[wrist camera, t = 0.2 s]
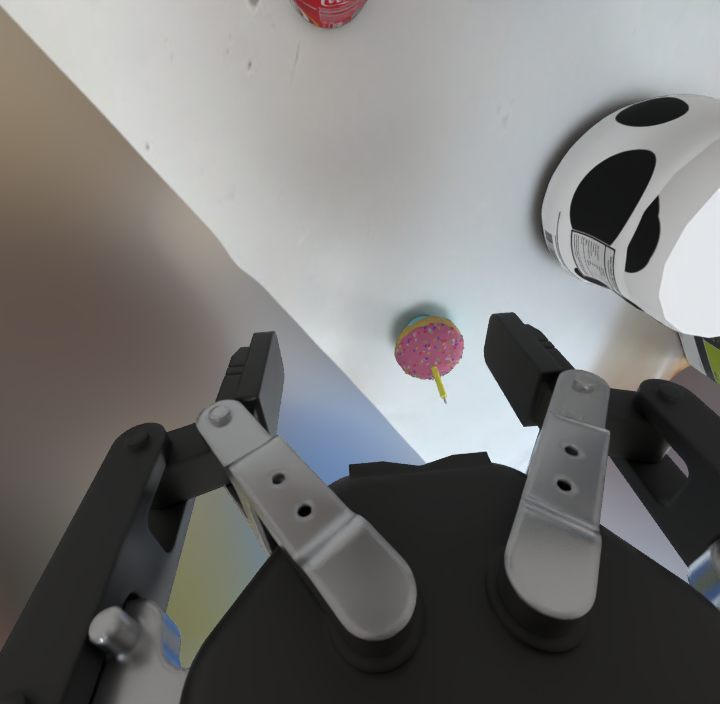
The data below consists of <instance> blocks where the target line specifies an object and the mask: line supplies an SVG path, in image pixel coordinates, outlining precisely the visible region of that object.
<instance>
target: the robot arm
mask: <svg viewBox="0 0 720 704" xmlns="http://www.w3.org/2000/svg"><path fill="white" fill-rule="evenodd" d="M554 347H555V346H554V345H553V344H552V343H551V342H550V341H548V339H547V338H546V337H545V335H544V334H543V333H542V332H541V331H539V330H538V329H536V328H534V327H532V326H531V325H529V324H524V323H523V322H522V321H521V320H520V319H519V317H518V316H517V315H516V314H515V313H513V312H510V313H498V314H492V315H491V317H490V319H489V324H488V330H487V335H486V340H485V346H484V358H485V362H486V364H487V366H488V368H489V369H490V371H491V373H492V375H493V376H494V378H495V380H496V381H497V383H498V385H499V386H500V388H501V390H502V391H503V393H504V395H505V396H506V398H507V400H508V401H509V403H510V405H511V407H512V408H513V410H514V412H515V413H516V415H517V417H518V418H519V420H520V422H521V423H522V425H523V427H527V426H538V427H539V429H540V430H539V433H538V436H537V439H536V442H535V445H534V448H533V451H532V454H531V458H530V461H529V464H528V467H527V470H526V473H525V474H524V473H522V472H520V471H518V470H516V469H514V468H511V467H508V466H505V465H501V464H497V463H491V461H490V459H489V457H488V454H487V452H478V453H467V454H456V455H451V456H448V457H445V458H442V459H439V460H436V461H433V462H430V463H427V464H425V465H420V466H416V465H408V464H399V463H391V462H384V461H382V462H372V463H361V464H351V465H349V473H350V475H349V476H346V477H343V478H341V479H339V480H337V481H335V482H333V483H332V484H331V485H329V486H327V485H326V484H325V483H324V482H323V481H322V480H321V479H320V477H319V476H317V474H316V473H315V472H314V471H313V470H312V469H311V468H310V467H309V466H308V465H307V464H306V463H305V461H304V460H303V459H302V458H301V457H300V456H299V455H298V454H297V453H296V452H295V451H294V450H293V449H292V448H291V447H290V446H289V444H288V443H287V442H285V440H284V439H283V438H282V437H281V436H279V435H276V430H277V424H278V418H279V411H280V404H281V398H282V391H283V384H284V368H283V362H282V357H281V353H280V348H279V344H278V339H277V335H276V333H275V332H274V331H271V332H259V333H254V334H253V337H252V340H251V343H250V347H241V348H240V349H239V350H238V351H237V352H236V353H235V354H234V355H233V356H232V357H231V360H230V363H229V368H227V371H226V376H225V377H224V379H223V382H222V385H221V387H220V390H219V393H218V396H217V398H216V401H215V403H212V404H210V405H209V406H207V407H206V408H204V409H203V410H202V411H201V412H200V413H199V415H198V417H197V419H196V422H195V423H193V424H191V425H188V426H185V427H182V428H179V429H175V430H172V431H169V432H166V430H165V429H164V427H163V426H162V425H160V424H157V423H145V424H141V425H137V426H135V427H133V428H131V429H129V430H127V431H126V432H124V433H123V434H121V435H120V436H119V437H118V438H117V439H116V440H115V442H114V443H113V445H112V446H111V449H110V450H109V452H108V454H107V456H106V458H105V459H104V461H103V463H102V465H101V467H100V469H99V471H98V472H97V475H96V476H95V478H94V480H93V482H92V483H91V486H90V487H89V489H88V491H87V493H86V495H85V496H84V498H83V500H82V502H81V504H80V506H79V508H78V509H77V511H76V513H75V515H74V517H73V519H72V521H71V522H70V524H69V526H68V528H67V530H66V532H65V534H64V536H63V537H62V539H61V541H60V543H59V545H58V546H57V548H56V550H55V552H54V554H53V556H52V558H51V559H50V561H49V563H48V565H47V567H46V569H45V571H44V572H43V574H42V576H41V578H40V580H39V582H38V584H37V585H36V587H35V589H34V591H33V593H32V595H31V597H30V598H29V600H28V602H27V604H26V606H25V608H24V609H23V611H22V613H21V615H20V617H19V619H18V621H17V622H16V624H15V626H14V628H13V630H12V632H11V634H10V635H9V637H8V639H7V641H6V643H5V645H4V647H3V649H2V650H1V652H0V704H720V417H719V416H718V415H717V414H716V413H715V412H714V411H712V410H711V409H710V408H709V407H708V406H707V405H705V404H704V403H703V402H702V401H701V400H700V399H699V398H697V396H695V395H694V394H693V393H692V392H691V391H689V390H688V389H686V388H684V387H683V386H681V385H678V384H676V383H673V382H670V381H666V380H661V379H648V380H645V381H643V382H642V383H641V384H640V386H639V388H638V390H637V392H636V391H628V390H620V389H612V388H609V385H608V384H607V383H606V382H605V381H604V380H603V379H602V378H600V377H599V376H597V375H595V374H593V373H590V372H587V371H583V370H575V369H574V367H573V366H572V365H571V364H570V363H569V362H568V361H567V360H566V359H565V358H564V356H563V355H562V354H561V353H560V352H559V351H558V350H557V349H556V348H554ZM670 447H672V448H673V449H674V450H675V451H676V452H677V453H678V455H679V456H680V457H681V458H682V459H683V460H684V461H685V463H686V465H687V467H688V471H689V477H688V478H687V477H686V476H685V474H684V473H683V472H682V471H681V470H680V469H679V468H678V466H677V465H676V464H675V463H674V462H673V461H672V459H671V458H670V457H669V456H668V455H667V454H666V453H667V452H668V450H669V449H670ZM608 456H610V458H611V459H612V461H613V462H614V463H615V465H616V466H617V468H618V469H619V470H620V472H621V473H622V475H623V476H624V478H625V479H626V480H627V482H628V483H629V484H630V486H631V487H632V489H633V490H634V492H635V493H636V495H637V496H638V497H639V499H640V500H641V502H642V503H643V505H644V506H645V507H646V509H647V510H648V511H649V513H650V514H651V516H652V517H653V519H654V520H655V522H656V523H657V524H658V526H659V527H660V529H661V530H662V531H663V533H664V534H665V536H666V537H667V538H668V540H669V541H670V543H671V544H672V546H673V547H674V548H675V550H676V551H677V553H678V554H679V556H680V557H681V558H682V560H683V561H684V563H685V564H686V565H687V567H688V571H687V577H688V581H689V584H690V585H689V584H688V583H686V582H685V581H684V580H682V579H680V578H679V577H678V576H676V575H675V574H673V573H672V572H670V571H669V570H667V569H666V568H664V567H663V566H661V565H660V564H658V563H657V562H655V561H654V560H652V559H651V558H649V557H648V556H647V555H645V554H644V553H642V552H641V551H639V550H638V549H636V548H635V547H633V546H632V545H630V544H629V543H627V542H626V541H624V540H623V539H621V538H620V537H618V536H617V535H615V534H614V533H613V532H611V531H610V530H608V529H607V528H605V527H604V526H602V525H601V524H600V516H601V508H602V498H603V491H604V482H605V474H606V465H607V457H608ZM223 486H224V487H225V489H226V490H227V492H228V494H229V495H230V497H231V498H232V499H233V501H234V502H235V504H236V506H237V507H238V509H239V510H240V512H241V513H242V515H243V516H244V518H245V519H246V521H247V522H248V524H249V525H250V527H251V529H252V530H253V532H254V534H255V536H256V538H257V540H258V541H259V543H260V545H261V547H262V548H263V550H264V552H265V553H266V555H267V556H268V559H267V561H266V562H265V563H264V564H263V566H262V567H261V568H260V570H259V571H258V572H257V573H256V575H255V576H254V577H253V579H252V580H251V581H250V583H249V584H248V585H247V586H246V588H245V589H244V590H243V592H242V593H241V594H240V596H239V597H238V598H237V600H236V601H235V602H234V603H233V605H232V606H231V607H230V609H229V610H228V611H227V612H226V614H225V615H224V616H223V618H222V619H221V620H220V622H219V623H218V624H217V625H216V627H215V628H214V629H213V631H212V632H211V633H210V635H209V636H208V637H207V639H206V640H205V641H204V643H203V644H202V646H201V648H200V649H199V651H198V653H197V655H196V656H195V658H194V660H193V662H192V664H191V667H190V668H182V667H181V663H180V646H181V635H180V631H179V629H178V627H177V625H176V624H175V623H174V622H173V620H172V619H170V617H169V616H168V615H167V614H166V609H167V605H168V602H169V598H170V594H171V590H172V586H173V582H174V578H175V575H176V571H177V567H178V563H179V559H180V556H181V552H182V548H183V544H184V540H185V536H186V533H187V529H188V525H189V521H190V517H191V513H192V510H193V505H194V502H195V498H196V496H199V495H201V494H204V493H207V492H209V491H212V490H215V489H217V488H220V487H223Z"/></svg>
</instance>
